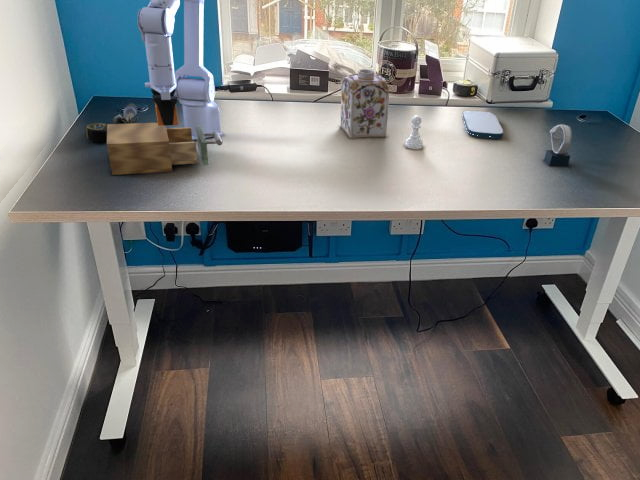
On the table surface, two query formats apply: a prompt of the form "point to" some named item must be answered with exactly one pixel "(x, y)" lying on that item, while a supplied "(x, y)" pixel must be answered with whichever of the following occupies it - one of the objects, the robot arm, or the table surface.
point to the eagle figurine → (126, 115)
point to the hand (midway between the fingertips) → (167, 121)
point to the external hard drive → (482, 124)
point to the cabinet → (138, 148)
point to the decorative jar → (364, 105)
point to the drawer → (189, 145)
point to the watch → (559, 153)
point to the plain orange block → (161, 119)
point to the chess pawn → (414, 135)
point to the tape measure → (96, 132)
